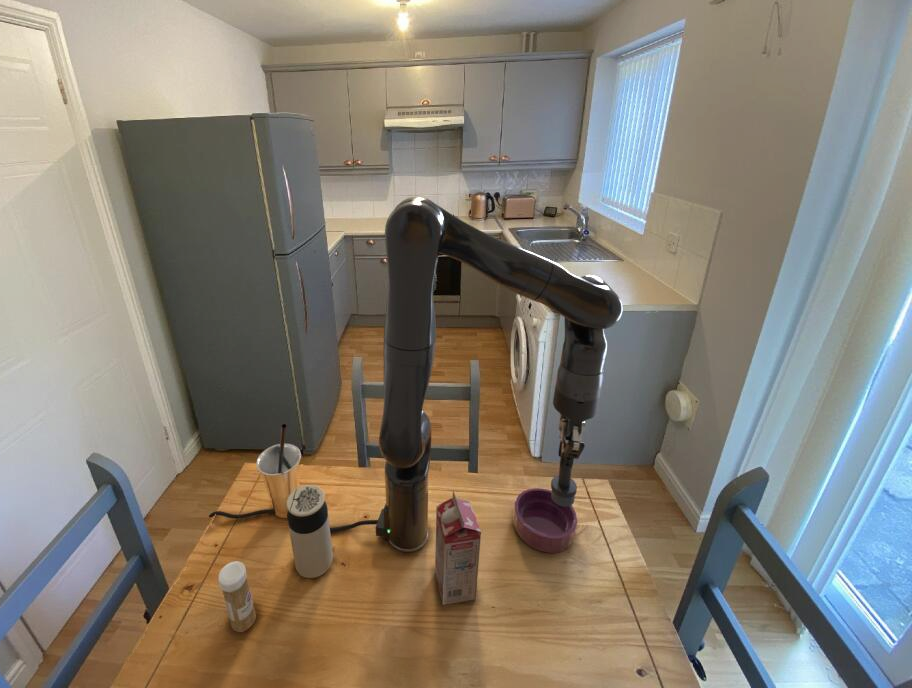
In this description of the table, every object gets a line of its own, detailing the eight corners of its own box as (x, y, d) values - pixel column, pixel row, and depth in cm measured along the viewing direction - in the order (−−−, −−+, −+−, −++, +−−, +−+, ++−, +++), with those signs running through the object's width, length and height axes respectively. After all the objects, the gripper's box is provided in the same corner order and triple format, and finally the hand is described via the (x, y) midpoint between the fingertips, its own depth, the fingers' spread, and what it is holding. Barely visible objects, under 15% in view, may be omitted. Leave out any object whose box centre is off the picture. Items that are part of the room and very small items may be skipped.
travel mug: (337, 546, 93) (330, 485, 86) (326, 581, 86) (318, 518, 79) (303, 541, 94) (294, 481, 87) (289, 576, 87) (278, 513, 80)
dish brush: (550, 505, 84) (555, 447, 78) (549, 487, 88) (554, 430, 83) (576, 509, 83) (583, 450, 77) (573, 490, 87) (580, 433, 81)
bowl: (512, 547, 92) (514, 531, 90) (513, 498, 104) (514, 483, 102) (577, 560, 89) (581, 544, 87) (570, 509, 101) (573, 493, 99)
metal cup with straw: (301, 531, 97) (284, 426, 85) (256, 523, 99) (234, 420, 87) (318, 494, 107) (306, 395, 95) (277, 487, 109) (260, 390, 97)
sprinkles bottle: (255, 629, 78) (243, 581, 73) (229, 636, 77) (215, 588, 72) (257, 604, 82) (246, 557, 77) (232, 610, 81) (220, 563, 76)
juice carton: (442, 604, 81) (445, 523, 73) (435, 571, 87) (436, 493, 79) (475, 599, 82) (482, 518, 74) (465, 566, 88) (470, 488, 80)
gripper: (552, 364, 82) (542, 435, 89) (559, 407, 70) (547, 485, 76) (593, 368, 80) (580, 440, 87) (608, 413, 68) (591, 492, 75)
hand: (564, 461), depth 82 cm, fingers closed on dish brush
